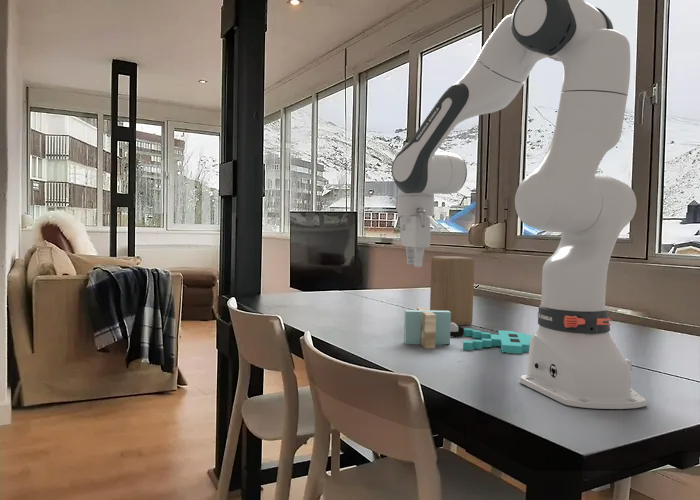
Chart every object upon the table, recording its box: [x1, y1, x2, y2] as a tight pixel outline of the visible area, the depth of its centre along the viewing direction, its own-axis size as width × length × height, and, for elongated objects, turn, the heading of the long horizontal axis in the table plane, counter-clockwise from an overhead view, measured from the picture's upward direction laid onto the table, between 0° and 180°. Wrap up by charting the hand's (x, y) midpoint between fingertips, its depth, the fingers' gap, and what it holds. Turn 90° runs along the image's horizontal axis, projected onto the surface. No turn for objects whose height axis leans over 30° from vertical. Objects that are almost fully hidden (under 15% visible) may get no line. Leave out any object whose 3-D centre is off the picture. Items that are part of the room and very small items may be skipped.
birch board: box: [416, 307, 436, 350], centre depth 141 cm, size 12×2×8 cm, turn 4°
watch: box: [450, 322, 465, 338], centre depth 153 cm, size 8×5×4 cm, turn 57°
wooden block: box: [429, 255, 475, 326], centre depth 173 cm, size 10×10×20 cm
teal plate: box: [403, 309, 451, 345], centre depth 141 cm, size 2×11×8 cm, turn 94°
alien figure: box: [462, 327, 535, 355], centre depth 143 cm, size 20×2×20 cm
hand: (414, 265), depth 140 cm, fingers open, 8 cm apart
